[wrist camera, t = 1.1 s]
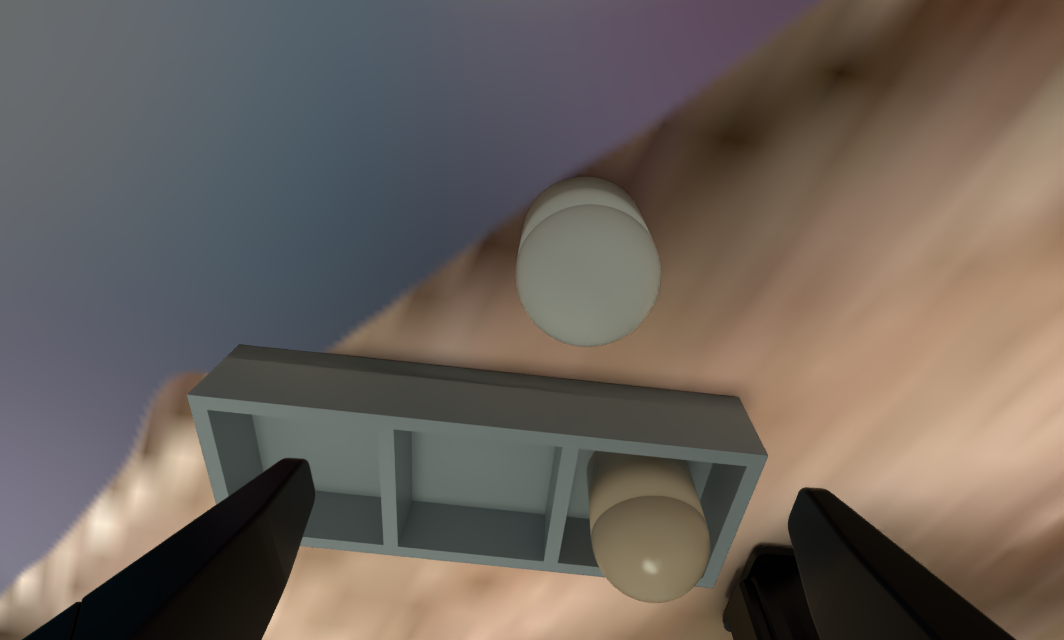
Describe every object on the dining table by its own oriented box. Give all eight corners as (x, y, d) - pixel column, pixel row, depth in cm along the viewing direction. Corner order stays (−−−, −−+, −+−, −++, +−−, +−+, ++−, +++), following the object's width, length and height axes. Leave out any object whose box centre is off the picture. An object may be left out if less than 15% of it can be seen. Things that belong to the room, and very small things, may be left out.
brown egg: (699, 438, 22) (740, 555, 17) (675, 512, 24) (706, 635, 19) (594, 427, 22) (606, 541, 17) (579, 502, 24) (586, 622, 19)
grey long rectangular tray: (738, 397, 22) (768, 455, 19) (694, 522, 26) (712, 588, 23) (239, 344, 22) (187, 394, 19) (265, 477, 25) (225, 538, 22)
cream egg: (655, 183, 18) (692, 239, 13) (631, 298, 20) (655, 382, 15) (527, 169, 18) (516, 220, 13) (517, 285, 20) (503, 366, 15)
